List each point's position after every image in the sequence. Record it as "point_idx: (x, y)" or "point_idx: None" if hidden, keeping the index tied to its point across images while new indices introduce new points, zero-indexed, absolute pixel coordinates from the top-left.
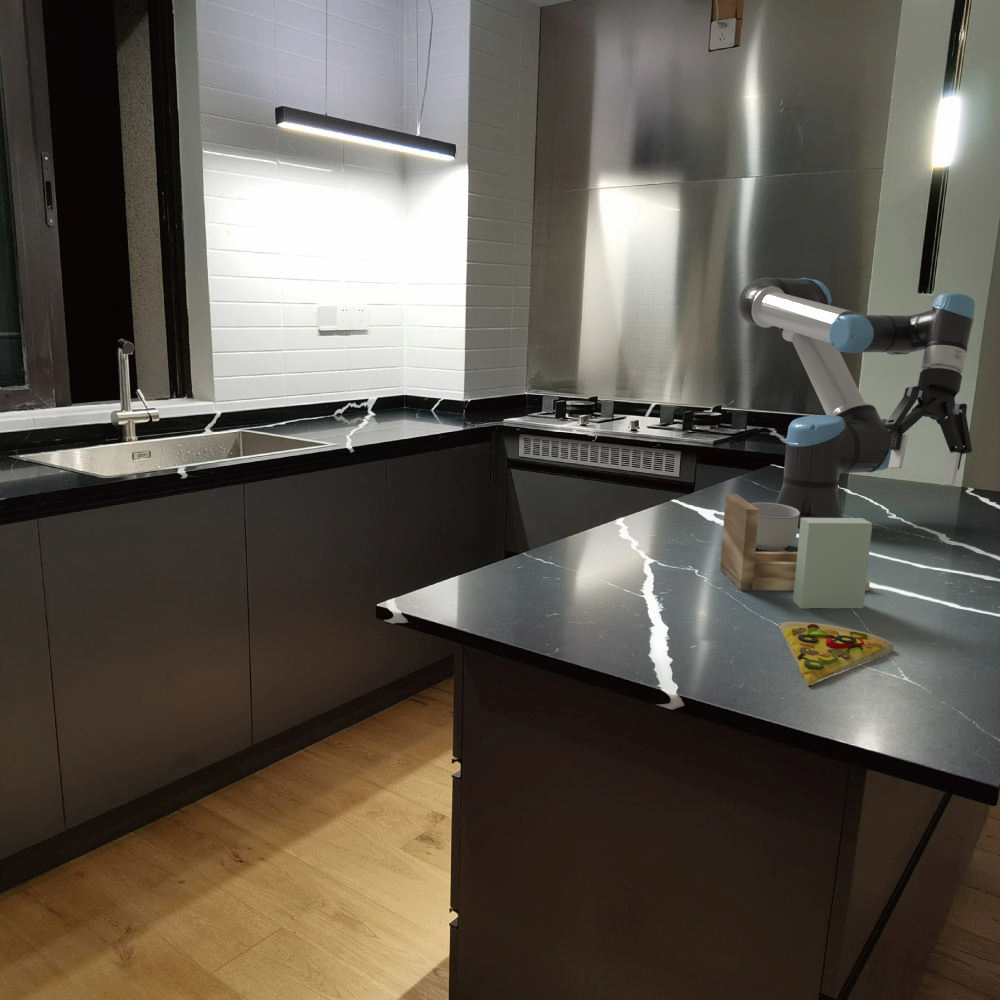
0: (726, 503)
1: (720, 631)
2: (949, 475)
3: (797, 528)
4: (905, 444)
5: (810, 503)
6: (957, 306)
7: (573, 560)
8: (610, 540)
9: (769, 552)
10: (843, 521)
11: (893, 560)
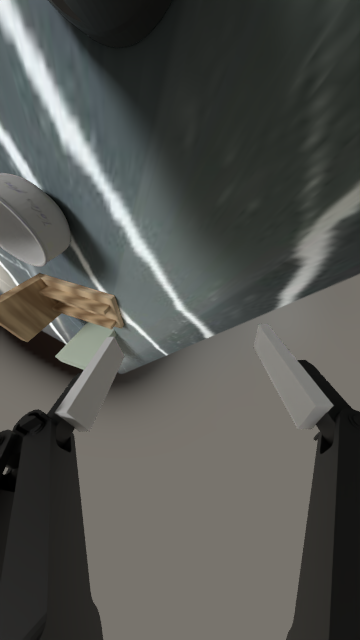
0: None
1: (68, 330)
2: (264, 355)
3: (60, 245)
4: (100, 402)
5: None
6: None
7: None
8: None
9: (58, 298)
10: (76, 366)
11: (165, 289)
